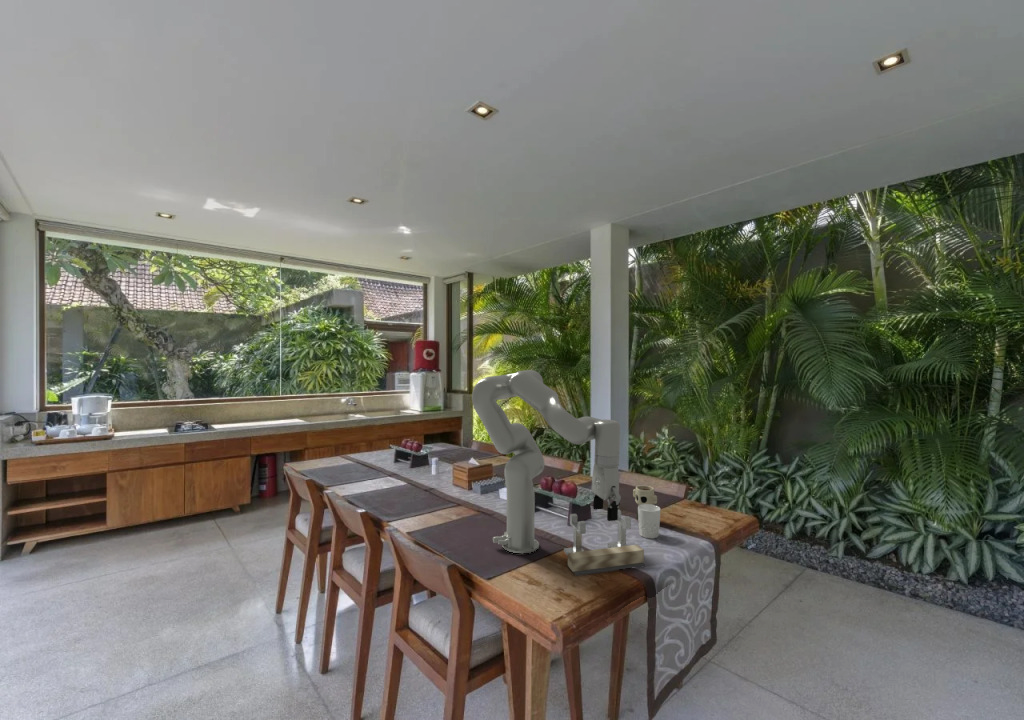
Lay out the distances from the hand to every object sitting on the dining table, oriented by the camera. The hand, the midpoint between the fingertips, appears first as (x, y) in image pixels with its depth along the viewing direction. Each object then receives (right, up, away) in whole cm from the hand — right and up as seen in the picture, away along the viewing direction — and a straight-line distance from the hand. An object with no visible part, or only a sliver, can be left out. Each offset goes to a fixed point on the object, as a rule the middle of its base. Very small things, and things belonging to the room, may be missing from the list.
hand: (604, 514), depth 145 cm
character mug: (+23, -15, +38) cm, 47 cm away
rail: (0, -16, 0) cm, 16 cm away
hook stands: (0, -16, +9) cm, 18 cm away
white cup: (+21, -16, +24) cm, 36 cm away
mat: (0, -16, 0) cm, 16 cm away
